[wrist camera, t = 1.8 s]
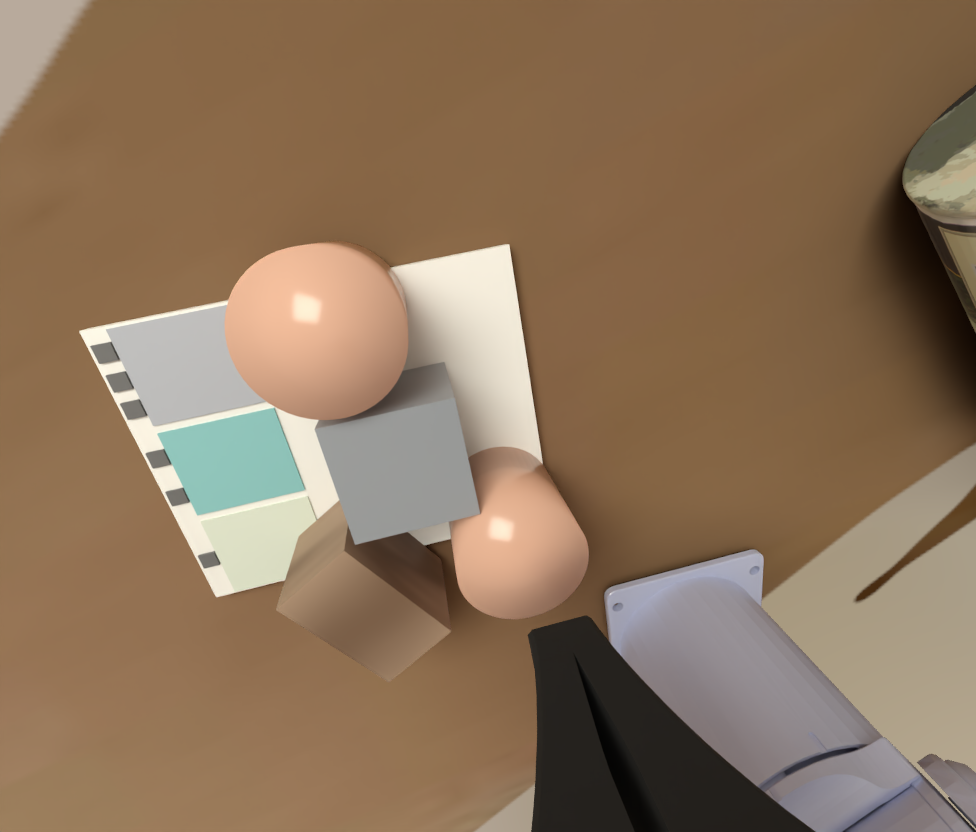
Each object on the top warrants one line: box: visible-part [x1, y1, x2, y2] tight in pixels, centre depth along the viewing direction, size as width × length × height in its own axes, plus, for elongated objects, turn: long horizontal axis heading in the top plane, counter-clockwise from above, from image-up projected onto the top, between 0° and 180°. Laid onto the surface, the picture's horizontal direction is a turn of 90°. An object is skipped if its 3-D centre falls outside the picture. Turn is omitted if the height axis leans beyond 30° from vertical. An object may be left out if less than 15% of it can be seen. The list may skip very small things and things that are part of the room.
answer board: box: [79, 244, 543, 597], centre depth 18 cm, size 11×14×1 cm
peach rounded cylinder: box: [449, 447, 589, 619], centre depth 18 cm, size 4×4×4 cm
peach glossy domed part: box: [224, 241, 409, 420], centre depth 14 cm, size 4×4×4 cm
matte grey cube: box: [315, 362, 480, 545], centre depth 16 cm, size 4×4×4 cm
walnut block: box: [276, 501, 451, 682], centre depth 18 cm, size 5×3×4 cm, turn 40°
